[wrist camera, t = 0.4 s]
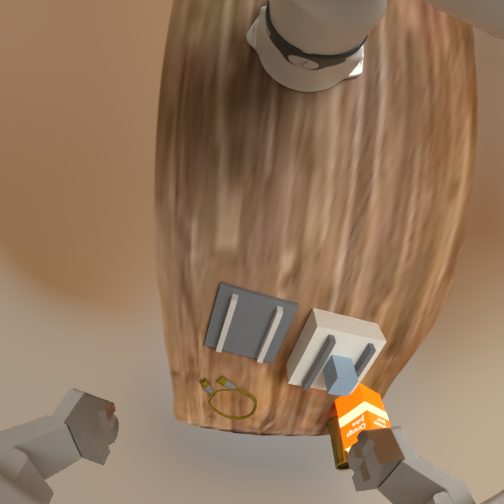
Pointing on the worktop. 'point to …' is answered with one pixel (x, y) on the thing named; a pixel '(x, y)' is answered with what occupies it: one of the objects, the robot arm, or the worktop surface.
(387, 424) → the orange juice
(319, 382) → the block
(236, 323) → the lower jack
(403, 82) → the worktop surface
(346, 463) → the vase
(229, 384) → the coiled cable
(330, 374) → the plug
